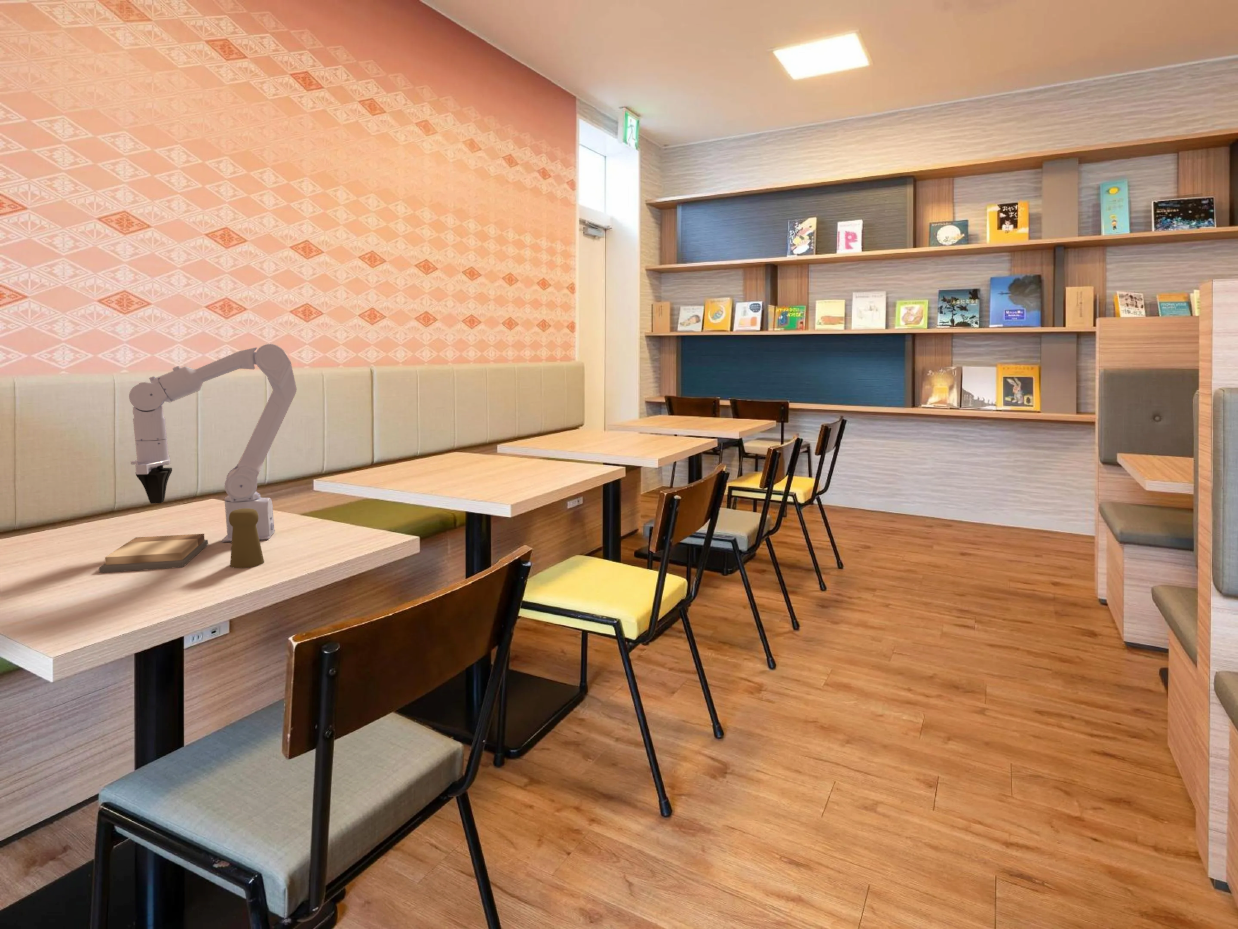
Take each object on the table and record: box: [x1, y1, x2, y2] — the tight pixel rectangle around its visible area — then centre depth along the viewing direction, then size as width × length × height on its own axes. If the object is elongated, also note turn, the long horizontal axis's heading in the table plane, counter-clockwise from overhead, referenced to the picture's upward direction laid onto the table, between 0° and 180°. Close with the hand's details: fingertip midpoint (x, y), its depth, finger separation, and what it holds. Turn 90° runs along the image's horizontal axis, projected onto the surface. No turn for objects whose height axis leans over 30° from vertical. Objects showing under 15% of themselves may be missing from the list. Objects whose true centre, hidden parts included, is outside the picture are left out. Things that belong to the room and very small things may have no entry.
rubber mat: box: [98, 539, 209, 573], centre depth 147 cm, size 14×18×1 cm
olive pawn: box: [229, 508, 265, 569], centre depth 142 cm, size 6×6×11 cm
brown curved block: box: [127, 533, 206, 546], centre depth 153 cm, size 13×4×2 cm, turn 105°
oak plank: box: [104, 539, 198, 565], centre depth 145 cm, size 13×11×2 cm
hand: (157, 502), depth 155 cm, fingers closed
